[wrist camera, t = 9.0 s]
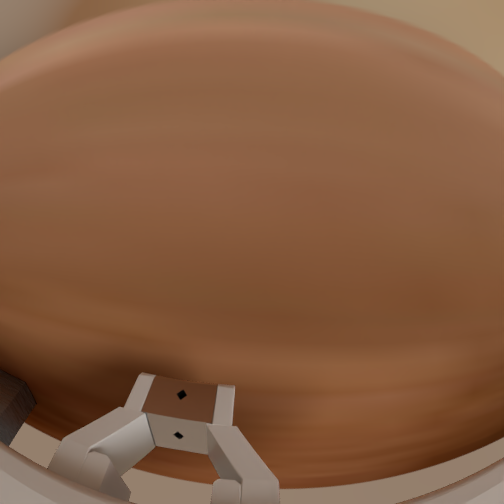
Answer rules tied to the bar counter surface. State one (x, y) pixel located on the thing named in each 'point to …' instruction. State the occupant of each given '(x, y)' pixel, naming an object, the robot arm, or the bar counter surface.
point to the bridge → (13, 406)
